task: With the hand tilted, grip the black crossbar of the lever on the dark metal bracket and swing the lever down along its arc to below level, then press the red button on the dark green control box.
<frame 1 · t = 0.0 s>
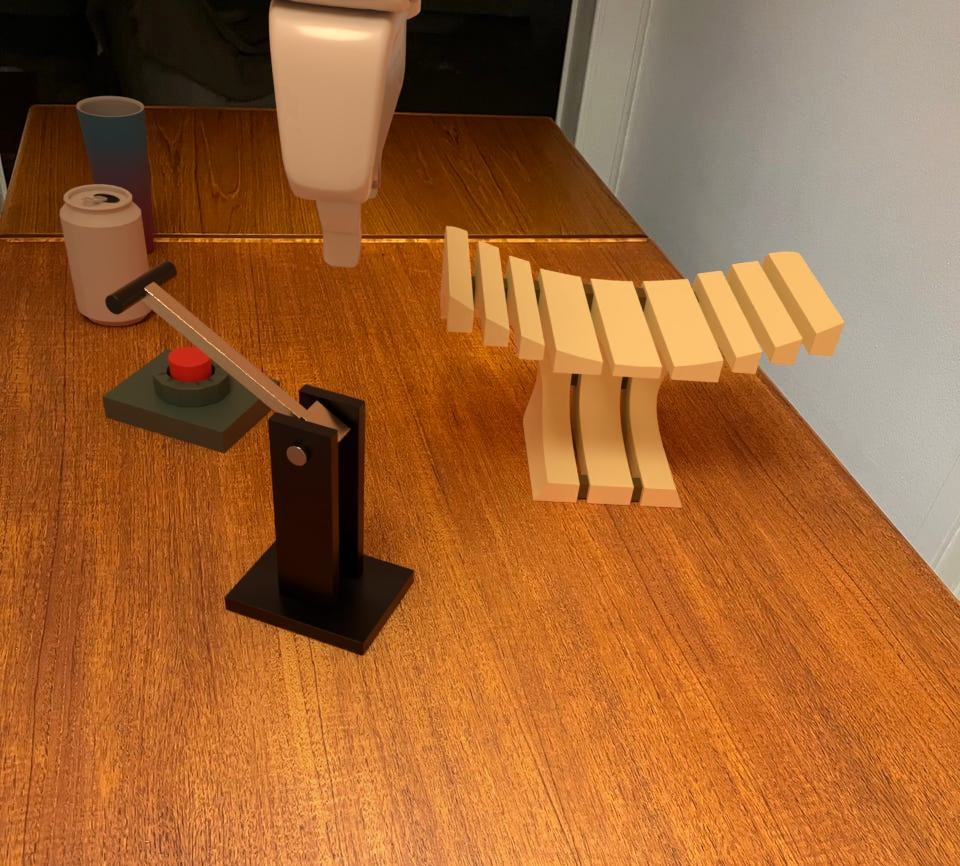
hand: (353, 226, 55), 28 cm above the table, tool pointing down, fingers open, 8 cm apart
cup: (131, 249, 115), on the table
slatted curved stool: (596, 454, 93), on the table
can: (117, 315, 104), on the table
lever: (236, 365, 64), point 17 cm above the table, hinge at 30.0°
button: (190, 365, 89), point 4 cm above the table, slide at 0.1 cm
control box: (195, 409, 92), on the table
bracket: (322, 595, 75), on the table
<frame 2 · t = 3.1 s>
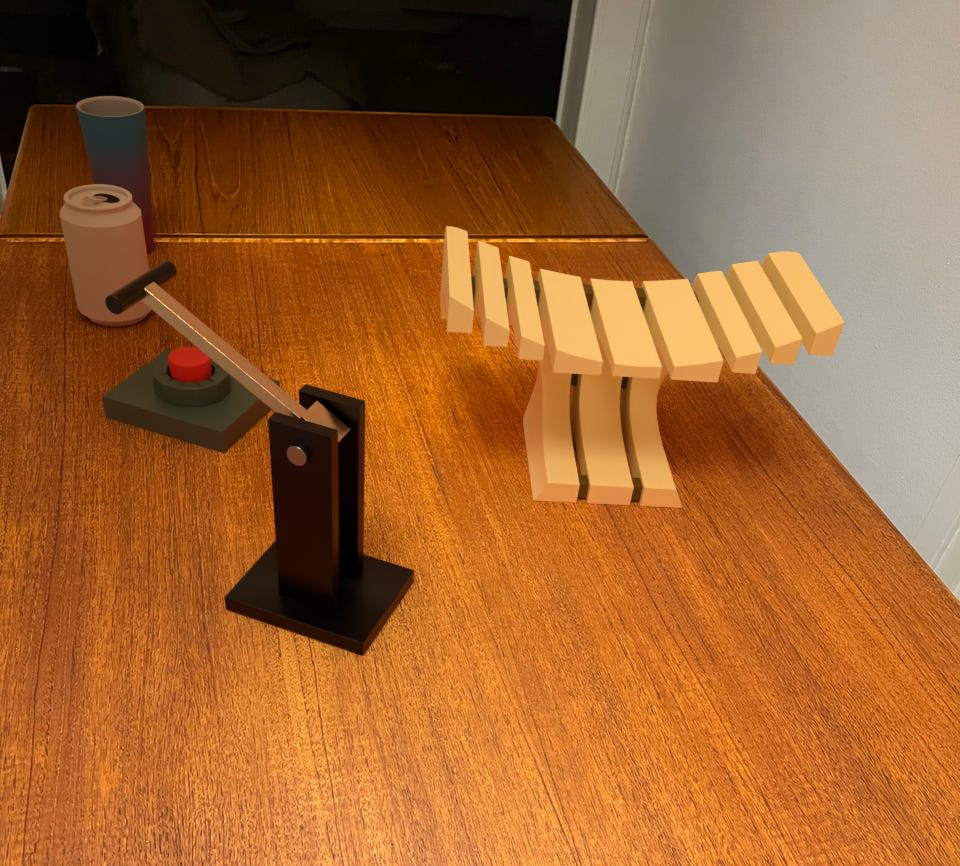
nothing on the table moved.
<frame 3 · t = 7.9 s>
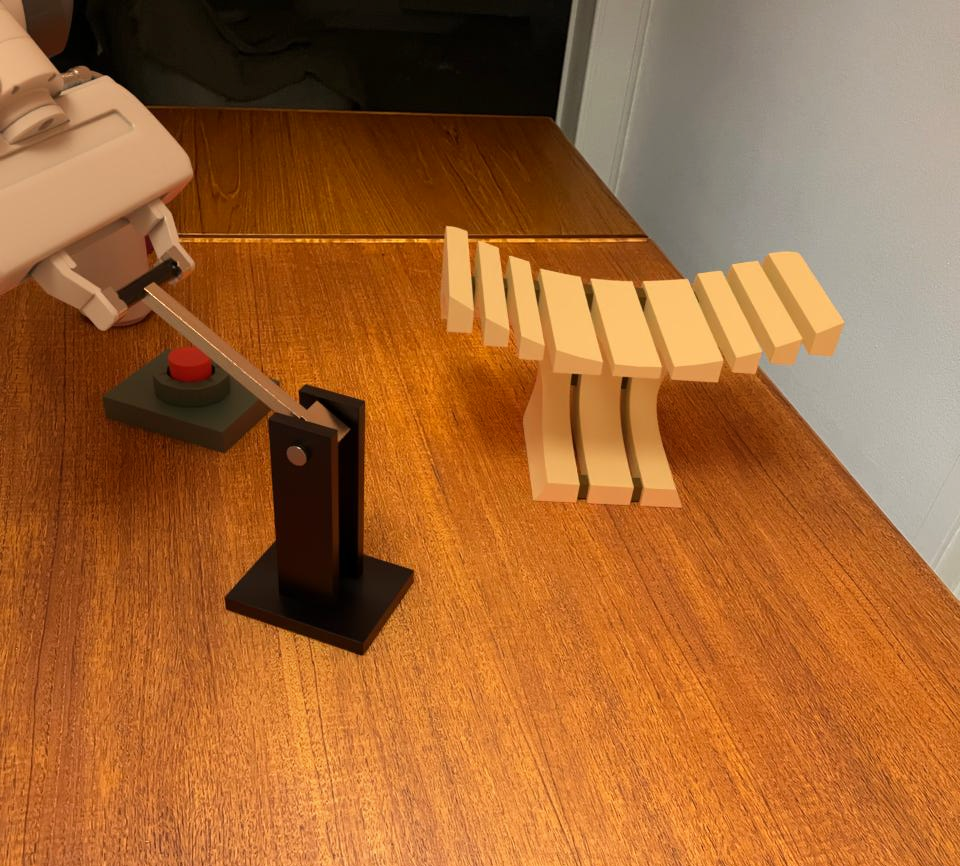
hand: (151, 299, 63), 20 cm above the table, tool tilted 45°, fingers closed on lever, 6 cm apart
lever: (236, 365, 64), point 17 cm above the table, hinge at 29.9°, touching gripper
everything else where it was.
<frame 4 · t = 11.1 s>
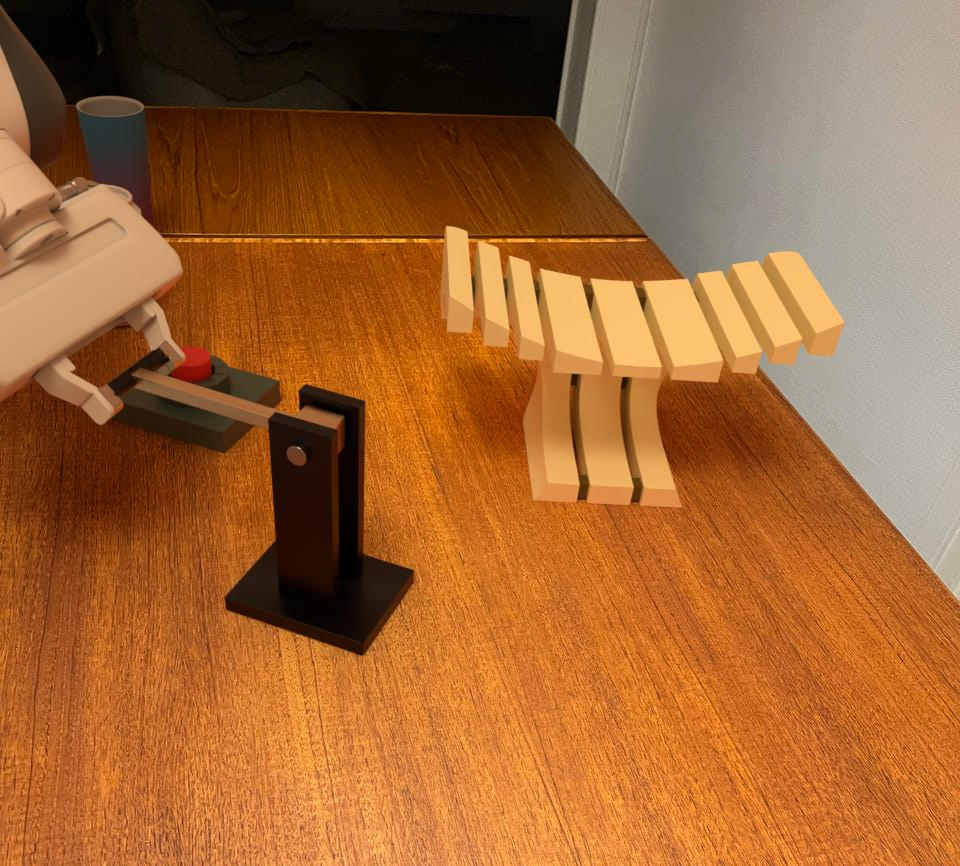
hand: (145, 392, 69), 13 cm above the table, tool tilted 45°, fingers closed on lever, 6 cm apart
lever: (228, 406, 67), point 14 cm above the table, hinge at 0.9°, touching gripper
everything else where it was.
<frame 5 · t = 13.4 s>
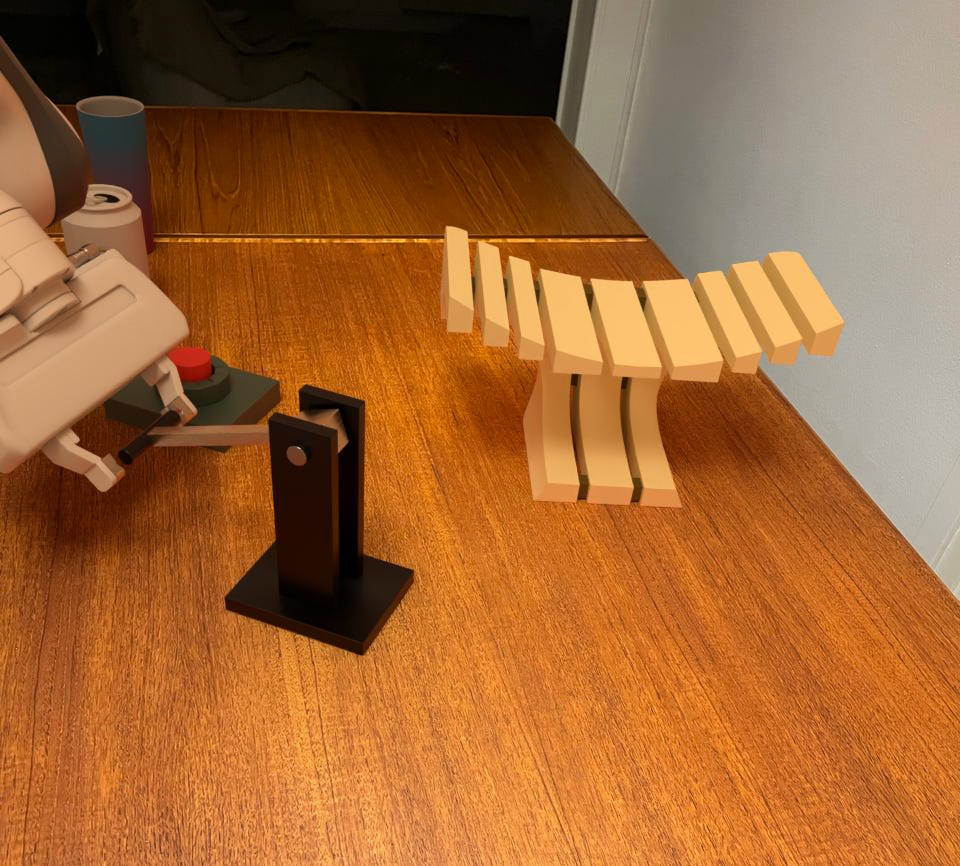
hand: (153, 451, 72), 8 cm above the table, tool tilted 45°, fingers open, 8 cm apart
lever: (235, 435, 68), point 12 cm above the table, hinge at -18.0°
everything else where it was.
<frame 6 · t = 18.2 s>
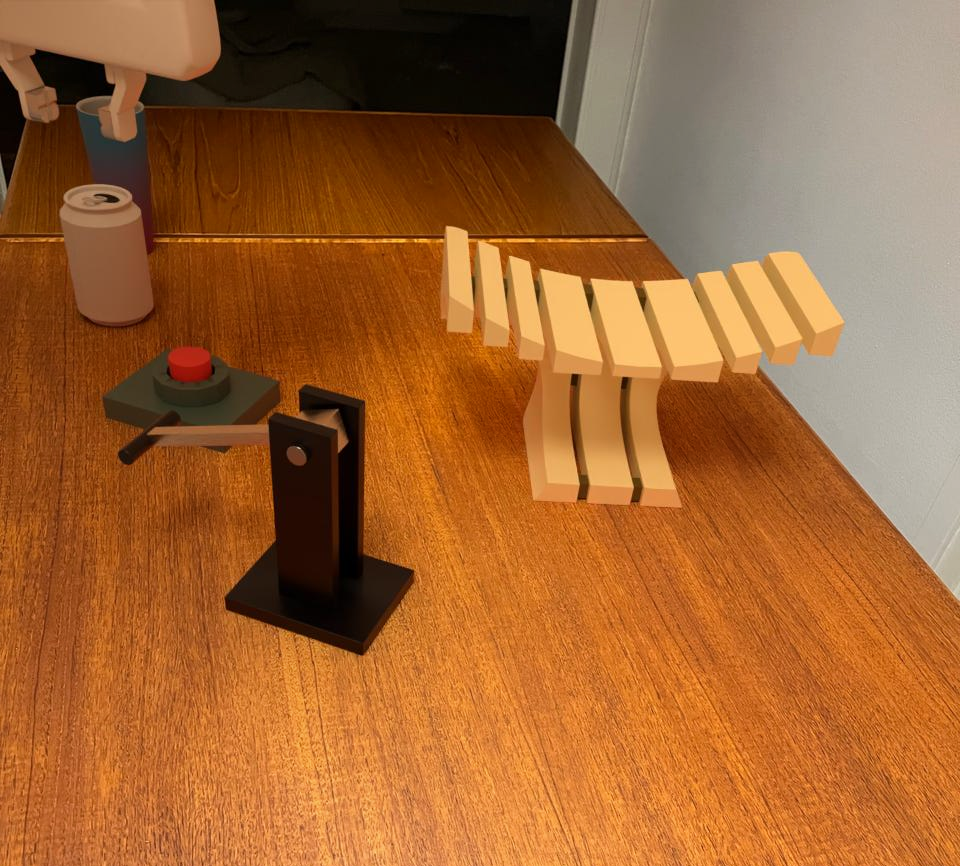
hand: (81, 128, 65), 27 cm above the table, tool pointing down, fingers open, 4 cm apart
nothing on the table moved.
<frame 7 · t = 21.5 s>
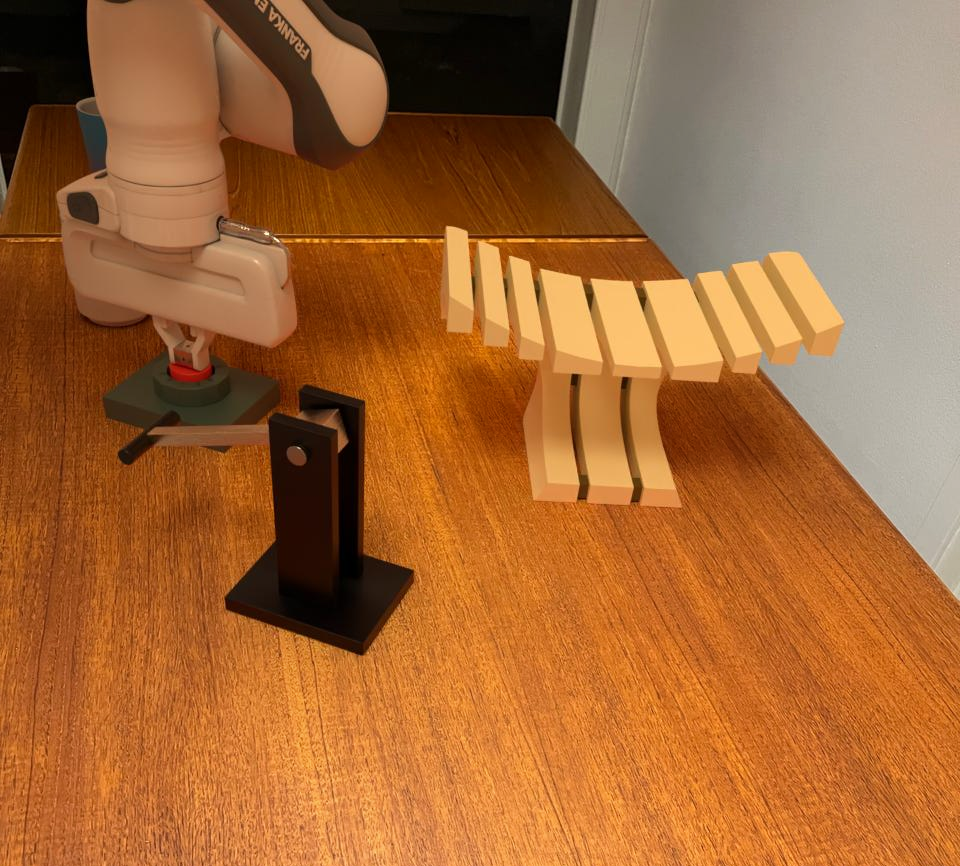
hand: (190, 364, 89), 5 cm above the table, tool pointing down, fingers closed, pressing on button
button: (191, 373, 89), point 4 cm above the table, slide at -0.7 cm, touching gripper
everything else where it was.
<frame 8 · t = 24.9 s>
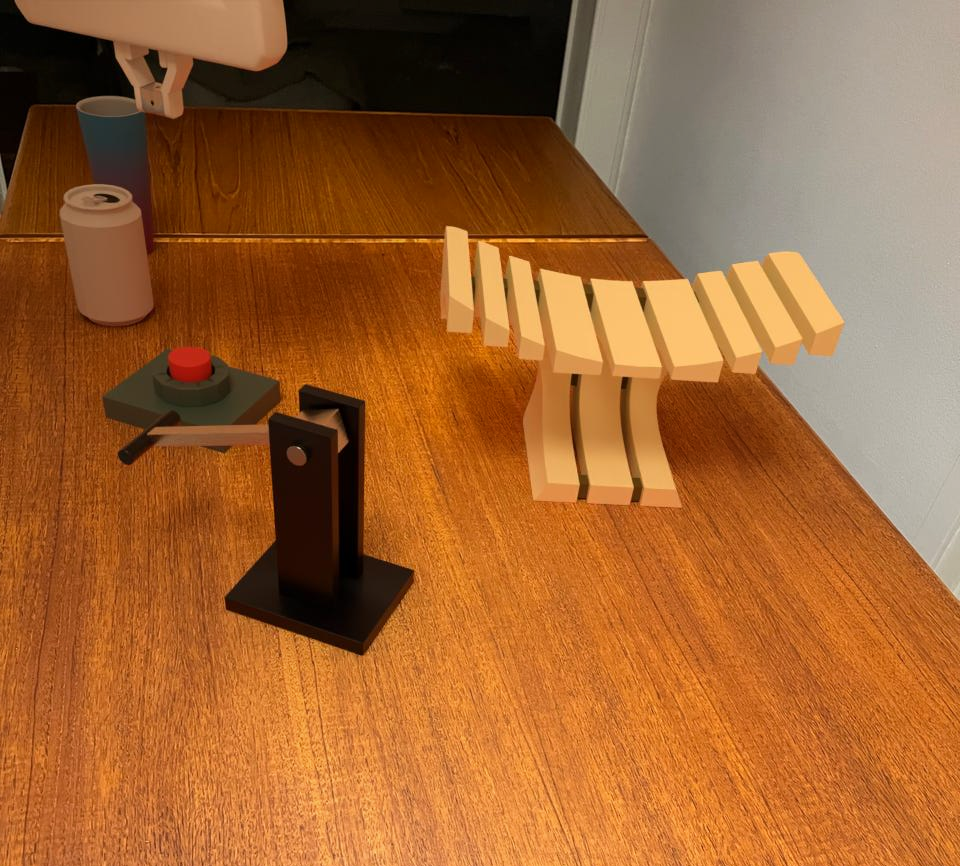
hand: (160, 113, 75), 25 cm above the table, tool pointing down, fingers closed
button: (190, 365, 89), point 4 cm above the table, slide at 0.1 cm
everything else where it was.
at the end: lever reached -18° during the clip, -18° at the end; lever at -18° (first picture: +30°); button pushed in 1.1 cm at the most during the clip, back to where it started at the end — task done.
